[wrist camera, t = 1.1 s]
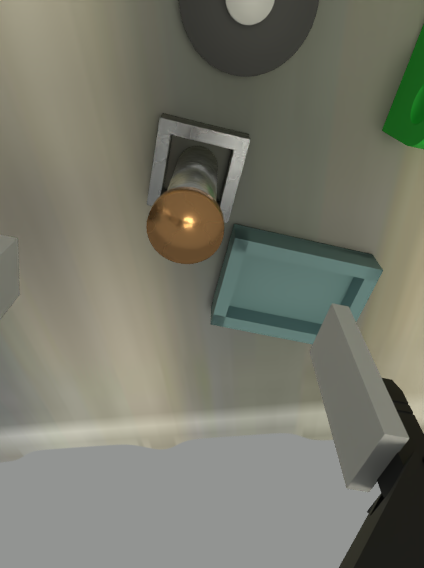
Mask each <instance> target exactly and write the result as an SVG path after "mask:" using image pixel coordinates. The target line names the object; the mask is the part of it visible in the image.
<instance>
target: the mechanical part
mask: <svg viewBox="0 0 424 568" xmlns="http://www.w3.org/2000/svg"><path fill="white" fill-rule="evenodd" d="M382 131H383V132H385V133H387V134H388V135H390V136H392V137H393V138H395V139H397V140H398V141H400V142H402V143H403V144H405V145H407V146H411V147H416V148H421V149H424V25H423V27H422V30H421V32H420V35H419V37H418V40H417V43H416V45H415V48H414V50H413V53H412V55H411V58H410V60H409V63H408V65H407V68H406V71H405V73H404V76H403V78H402V81H401V83H400V86H399V88H398V91H397V93H396V96H395V99H394V101H393V104H392V106H391V109H390V111H389V114H388V116H387V119H386V122H385V124H384V127H383V129H382Z"/></svg>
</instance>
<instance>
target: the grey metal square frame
mask: <svg viewBox="0 0 424 568" xmlns="http://www.w3.org/2000/svg"><path fill="white" fill-rule="evenodd" d="M172 135H175V136H179V137H183V138H188V139H192V140H196V141H200V142H204V143H208V144H213V145H217V146H221V147H225V148H229V149H232V153H231V157H230V161H229V165H228V169H227V173H226V177H225V181H224V185H223V189H222V193H221V197H220V201H217V200H216V202H217V203H218V205H219V206H220V208H221V211H222V213H223V217H224V222H227V223H228V221H229V217H230V213H231V210H232V206H233V202H234V198H235V195H236V191H237V187H238V184H239V180H240V176H241V172H242V169H243V165H244V161H245V157H246V154H247V150H248V146H249V142H250V137H249V134H246V133H242V132H238V131H234V130H230V129H225V128H221V127H217V126H213V125H209V124H205V123H201V122H197V121H193V120H189V119H185V118H181V117H177V116H172V115H168V114H164V113H163V114H162V115H161V117H160V119H159V126H158V133H157V139H156V146H155V153H154V160H153V166H152V173H151V180H150V186H149V193H148V200H147V205H151V206H153V204H154V202H155V201H156V200H157V198H158V197H159V196H161V195H162V194H163V193H164V192H166V191H167V190H168V189H165V188H164V182H165V176H166V170H167V164H168V158H169V153H170V147H171V141H172Z"/></svg>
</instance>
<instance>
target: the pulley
mask: <svg viewBox="0 0 424 568" xmlns="http://www.w3.org/2000/svg"><path fill="white" fill-rule="evenodd" d="M318 3H319V0H179V6H180V13H181V18H182V22H183V25H184V28H185V31H186V33H187V35H188V37H189V39H190V41H191V43H192V44H193V46H194V47H195V49H196V50H197V52H198V53H199V54H200V55H201V56H202V57H203V58H204V59H205V60H206V61H207V62H208V63H209V64H211V65H212V66H214V67H215V68H217V69H219V70H221V71H223V72H225V73H228V74H231V75H237V76H255V75H260V74H264V73H267V72H269V71H271V70H274V69H275V68H277V67H279V66H280V65H282V64H283V63H285V62H286V61H287V60H288V59H289V58H290V57H291V56H292V55H293V54H295V52H296V51H297V50H298V49H299V47H300V46H301V45H302V43H303V42H304V40H305V39H306V37H307V35H308V33H309V31H310V29H311V27H312V25H313V22H314V19H315V16H316V12H317V8H318Z"/></svg>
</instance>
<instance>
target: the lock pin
mask: <svg viewBox="0 0 424 568" xmlns="http://www.w3.org/2000/svg"><path fill="white" fill-rule="evenodd" d="M217 171H218V164H217V160H216V158H215V156H214V154H213V153H212V152H211V151H210V150H209V149H207V148H205V147H202V146H192V147H189V148H187V149H186V150H184V151H183V152H182V154H181V155H180V157H179V159H178V162H177V165H176V167H175V170H174V173H173V176H172V178H171V181H170V184H169V187H168V190H167V191H166V192H164V193H163V194H162V195H161V196H159V197H158V198H157V200H156V201H155V202H154V204H153V206H152V208H151V211H150V213H149V216H148V219H147V234H148V238H149V240H150V242H151V244H152V246H153V247H154V249H155V250H156V251H157V252H158V253H159V254H160V255H162V256H163V257H165V258H166V259H168V260H170V261H173V262H176V263H181V264H193V263H198V262H201V261H203V260H205V259H207V258H209V257H210V256H211V255H213V254H214V253H215V252H216V251H217V249H218V248H219V246H220V244H221V242H222V239H223V235H224V217H223V213H222V211H221V208H220V206H219V205H218V203H217V202H216V196H217Z"/></svg>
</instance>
